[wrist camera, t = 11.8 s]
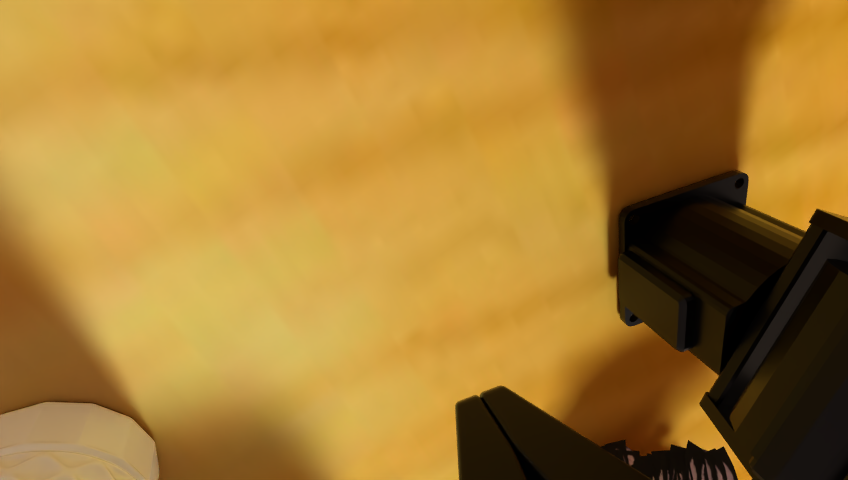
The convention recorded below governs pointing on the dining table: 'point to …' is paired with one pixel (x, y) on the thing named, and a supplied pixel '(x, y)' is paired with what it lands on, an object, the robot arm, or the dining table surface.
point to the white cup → (74, 444)
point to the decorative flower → (677, 462)
